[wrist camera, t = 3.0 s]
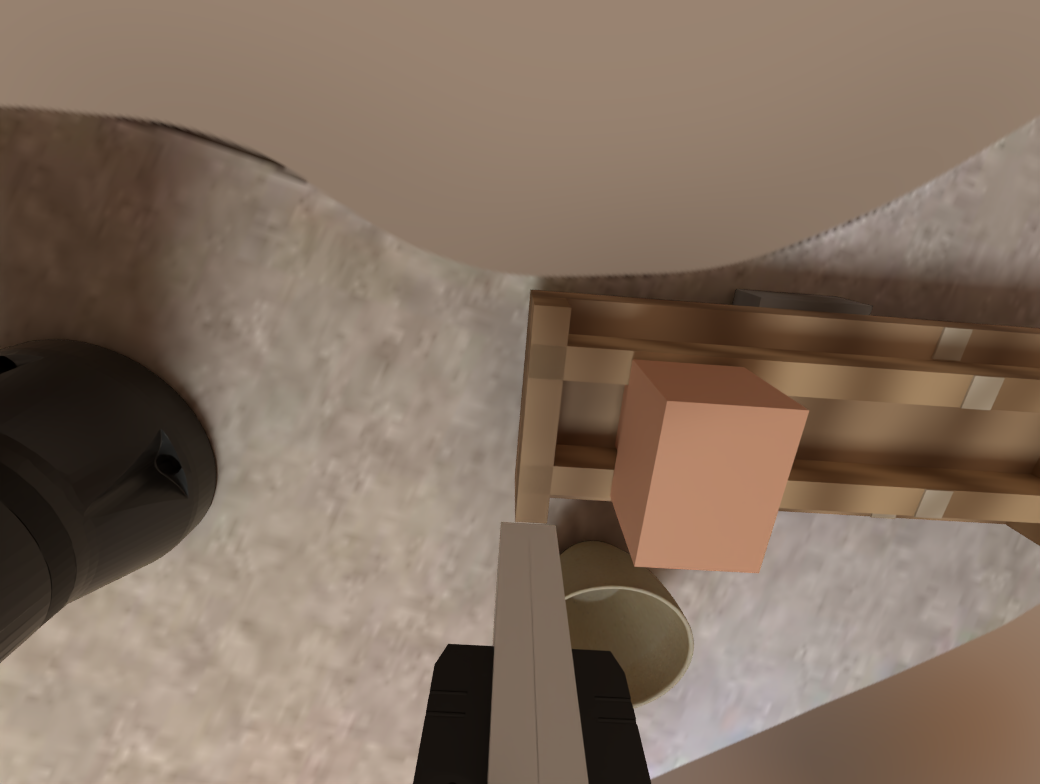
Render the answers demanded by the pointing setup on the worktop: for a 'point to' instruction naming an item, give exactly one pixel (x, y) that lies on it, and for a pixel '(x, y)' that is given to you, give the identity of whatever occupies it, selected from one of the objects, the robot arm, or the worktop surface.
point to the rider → (702, 465)
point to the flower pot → (626, 618)
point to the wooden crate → (799, 401)
